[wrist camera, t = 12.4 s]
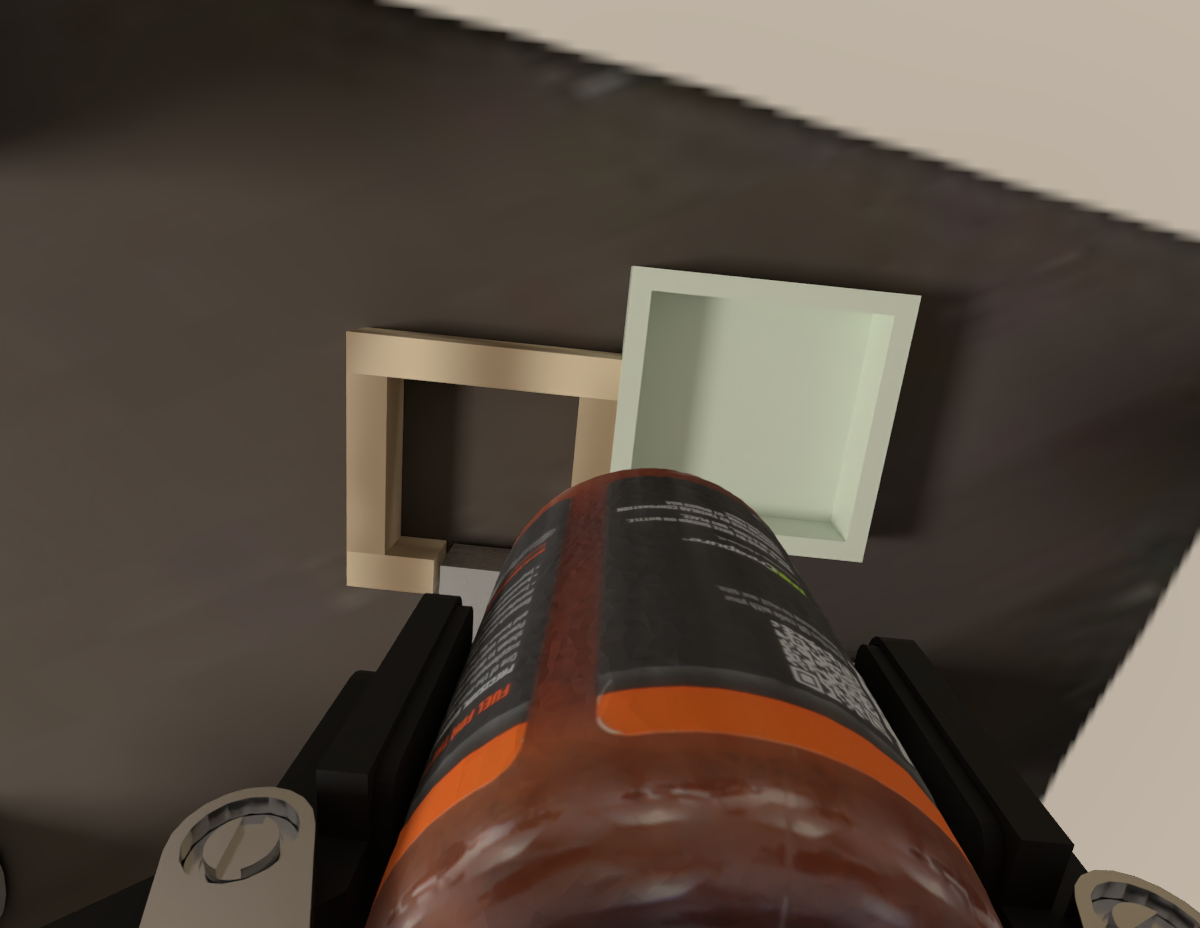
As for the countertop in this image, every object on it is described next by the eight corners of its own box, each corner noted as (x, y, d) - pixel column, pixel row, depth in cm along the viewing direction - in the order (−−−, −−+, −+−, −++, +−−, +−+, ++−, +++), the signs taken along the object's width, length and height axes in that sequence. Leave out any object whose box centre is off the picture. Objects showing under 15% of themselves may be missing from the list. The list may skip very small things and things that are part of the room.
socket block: (365, 564, 31) (347, 585, 29) (367, 327, 28) (346, 331, 26) (598, 588, 31) (597, 611, 29) (624, 353, 28) (624, 360, 26)
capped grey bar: (431, 730, 33) (406, 790, 29) (438, 542, 30) (412, 580, 26) (512, 739, 33) (498, 800, 29) (526, 551, 30) (513, 591, 26)
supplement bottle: (499, 708, 15) (149, 1903, 4) (507, 447, 13) (-46, 1259, 2) (771, 731, 15) (1177, 2014, 4) (812, 470, 13) (1720, 1427, 2)
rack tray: (604, 513, 30) (603, 535, 27) (631, 266, 27) (632, 265, 25) (840, 537, 30) (862, 562, 27) (892, 293, 27) (921, 296, 25)
